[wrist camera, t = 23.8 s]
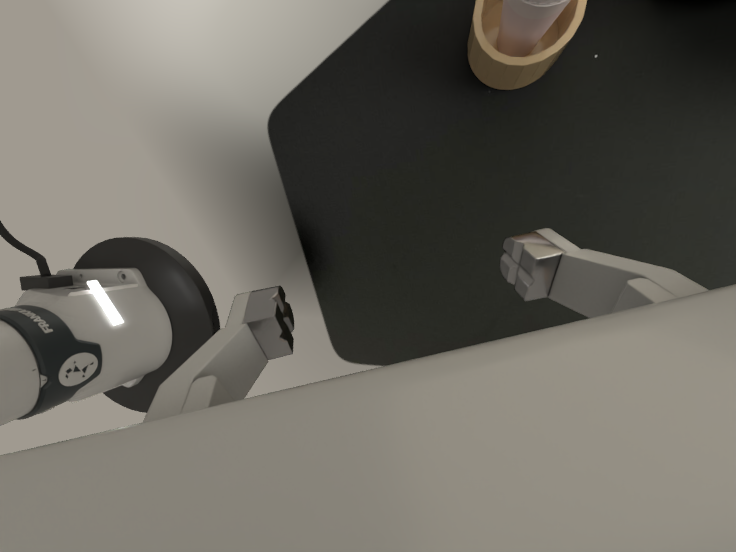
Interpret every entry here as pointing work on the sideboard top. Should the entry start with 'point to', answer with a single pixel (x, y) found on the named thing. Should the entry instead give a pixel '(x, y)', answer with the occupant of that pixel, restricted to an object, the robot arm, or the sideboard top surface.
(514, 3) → the smoothie
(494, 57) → the tan hollow round container
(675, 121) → the sideboard top surface
